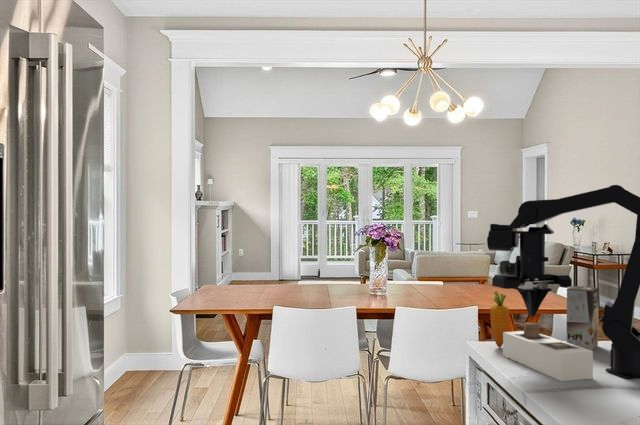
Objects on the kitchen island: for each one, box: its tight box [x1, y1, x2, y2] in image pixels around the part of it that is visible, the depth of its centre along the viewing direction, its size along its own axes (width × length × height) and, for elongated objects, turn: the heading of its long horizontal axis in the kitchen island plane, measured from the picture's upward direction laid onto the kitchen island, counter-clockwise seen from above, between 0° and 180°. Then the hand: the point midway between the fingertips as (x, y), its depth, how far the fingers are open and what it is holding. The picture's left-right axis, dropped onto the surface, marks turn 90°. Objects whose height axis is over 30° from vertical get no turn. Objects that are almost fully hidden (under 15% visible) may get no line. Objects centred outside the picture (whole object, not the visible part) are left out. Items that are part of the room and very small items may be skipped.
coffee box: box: [566, 285, 599, 352], centre depth 149 cm, size 9×6×16 cm
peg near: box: [550, 344, 568, 349], centre depth 126 cm, size 4×4×6 cm
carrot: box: [489, 290, 510, 349], centre depth 149 cm, size 5×5×15 cm
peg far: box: [523, 322, 541, 339], centre depth 135 cm, size 4×4×6 cm
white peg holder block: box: [502, 330, 594, 382], centre depth 130 cm, size 22×8×6 cm, turn 14°
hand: (531, 316), depth 135 cm, fingers closed
